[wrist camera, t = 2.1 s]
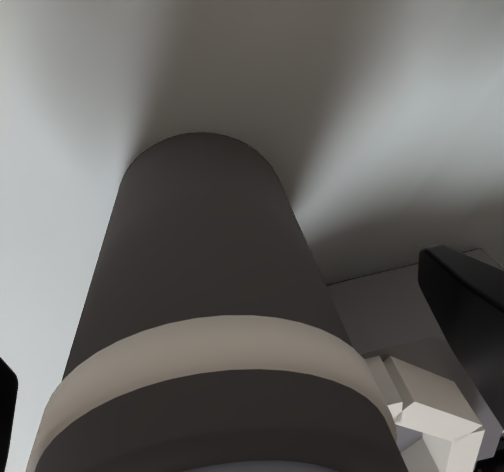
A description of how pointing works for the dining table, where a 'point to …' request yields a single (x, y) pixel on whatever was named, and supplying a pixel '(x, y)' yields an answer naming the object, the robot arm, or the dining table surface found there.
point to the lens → (211, 335)
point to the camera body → (417, 371)
